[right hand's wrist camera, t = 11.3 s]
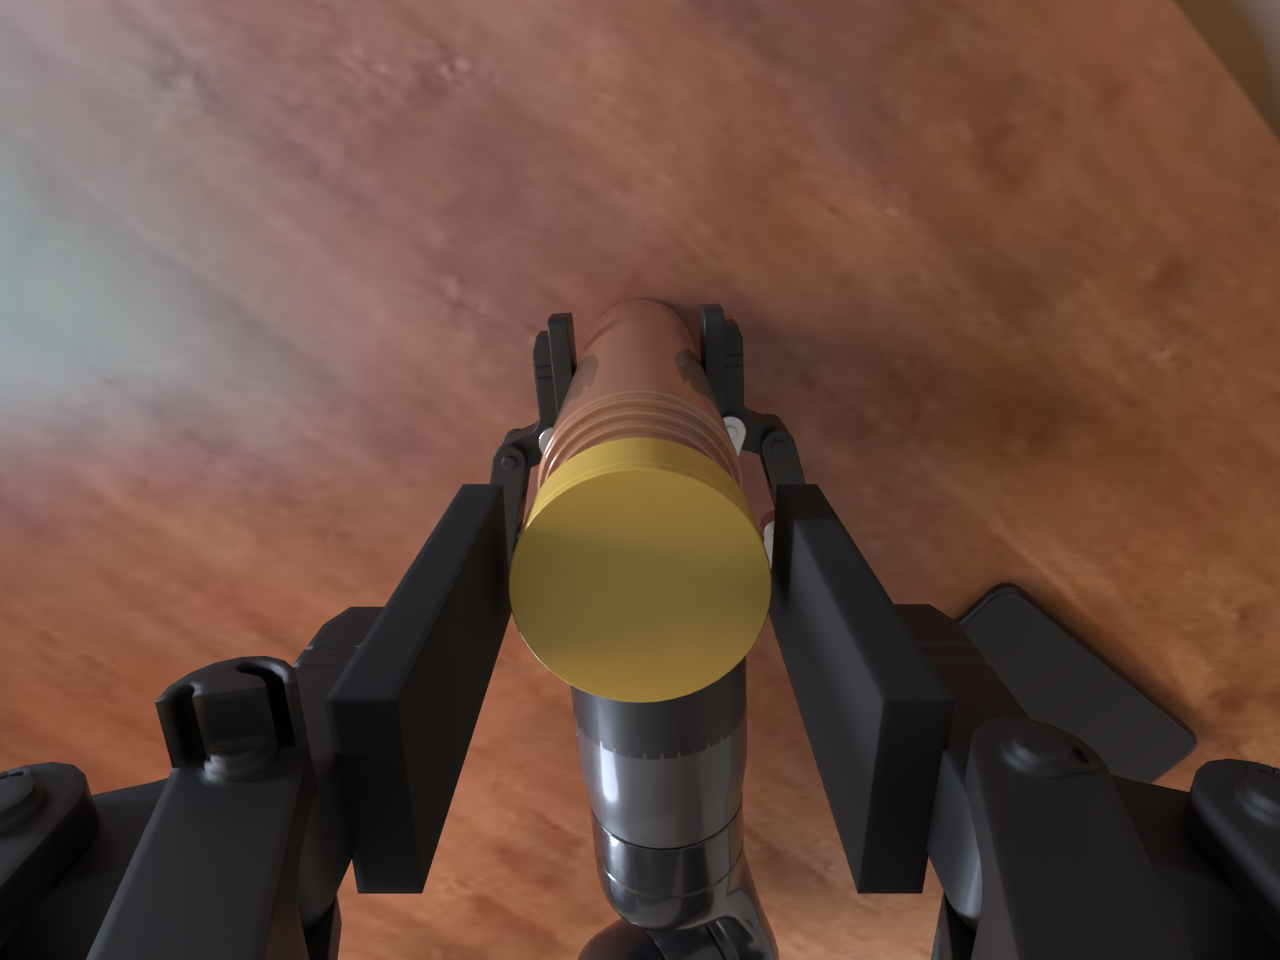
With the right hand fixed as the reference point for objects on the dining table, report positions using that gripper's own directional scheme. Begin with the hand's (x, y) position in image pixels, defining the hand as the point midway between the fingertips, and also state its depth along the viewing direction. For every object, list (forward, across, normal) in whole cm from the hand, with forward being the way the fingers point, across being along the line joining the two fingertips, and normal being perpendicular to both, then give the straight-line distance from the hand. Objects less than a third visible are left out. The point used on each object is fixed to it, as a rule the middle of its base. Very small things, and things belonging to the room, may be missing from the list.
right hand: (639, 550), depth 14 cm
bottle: (+21, 0, 0) cm, 21 cm away
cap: (-1, 0, 0) cm, 1 cm away
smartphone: (+21, -22, +19) cm, 36 cm away
